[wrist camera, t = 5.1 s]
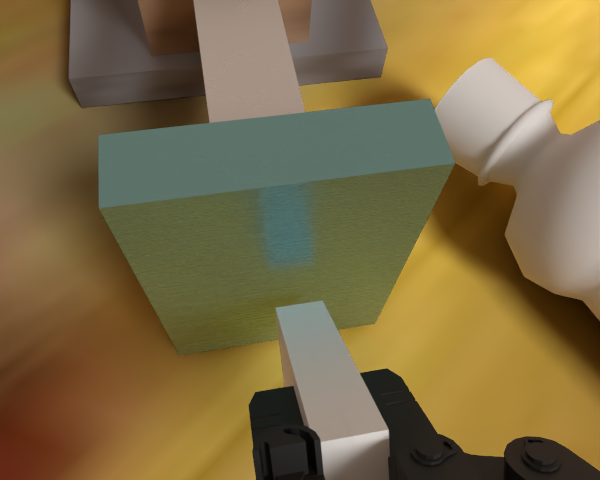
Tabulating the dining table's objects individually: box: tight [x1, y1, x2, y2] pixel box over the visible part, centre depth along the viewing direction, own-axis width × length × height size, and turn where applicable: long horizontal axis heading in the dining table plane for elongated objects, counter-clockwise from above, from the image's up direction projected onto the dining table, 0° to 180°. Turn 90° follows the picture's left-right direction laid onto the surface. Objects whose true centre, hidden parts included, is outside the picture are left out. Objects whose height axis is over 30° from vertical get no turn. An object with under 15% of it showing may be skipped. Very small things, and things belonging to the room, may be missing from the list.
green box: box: [98, 0, 455, 356], centre depth 21 cm, size 8×18×11 cm, turn 10°
